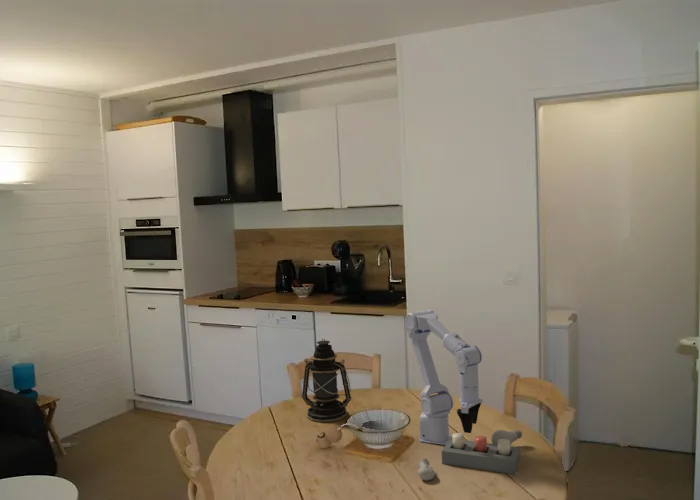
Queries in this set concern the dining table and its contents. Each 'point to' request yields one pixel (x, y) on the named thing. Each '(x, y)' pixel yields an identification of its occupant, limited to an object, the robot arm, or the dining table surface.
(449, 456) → the grey socket block
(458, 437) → the left plug
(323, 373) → the lantern
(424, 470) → the smooth white sculpture
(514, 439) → the lightbulb
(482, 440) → the red plug
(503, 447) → the right plug
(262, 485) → the dining table surface
